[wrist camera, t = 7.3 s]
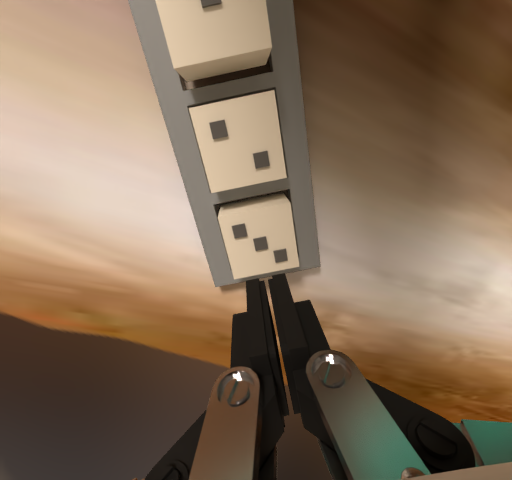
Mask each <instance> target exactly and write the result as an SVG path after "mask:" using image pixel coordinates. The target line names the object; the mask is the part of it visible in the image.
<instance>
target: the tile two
mask: <svg viewBox="0 0 512 480" xmlns="http://www.w3.org/2000/svg"><path fill="white" fill-rule="evenodd" d="M189 111H190V115H191V119H192V123H193V126H194V130H195V134H196V138H197V141H198V145H199V149H200V153H201V156H202V160H203V164H204V168H205V171H206V175H207V179H208V183H209V187H210V190H211V193H215V192H220V191H225V190H229V189H234V188H239V187H244V186H249V185H254V184H259V183H263V182H268V181H273V180H278V179H283V178H287V176H286V169H285V162H284V155H283V148H282V141H281V134H280V126H279V119H278V112H277V105H276V98H275V91H274V90H272V91H267V92H262V93H258V94H253V95H248V96H244V97H239V98H234V99H229V100H225V101H220V102H215V103H211V104H206V105H201V106H197V107H192V108H189Z"/></svg>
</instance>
